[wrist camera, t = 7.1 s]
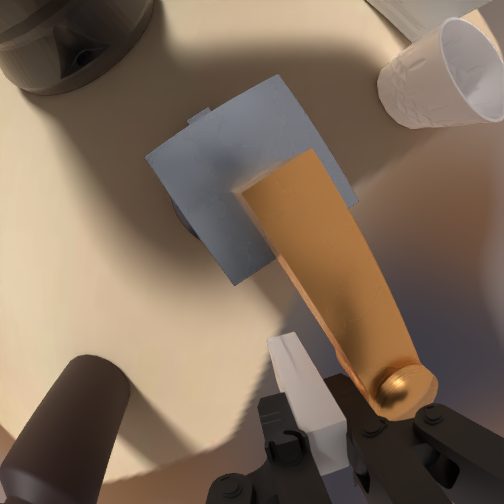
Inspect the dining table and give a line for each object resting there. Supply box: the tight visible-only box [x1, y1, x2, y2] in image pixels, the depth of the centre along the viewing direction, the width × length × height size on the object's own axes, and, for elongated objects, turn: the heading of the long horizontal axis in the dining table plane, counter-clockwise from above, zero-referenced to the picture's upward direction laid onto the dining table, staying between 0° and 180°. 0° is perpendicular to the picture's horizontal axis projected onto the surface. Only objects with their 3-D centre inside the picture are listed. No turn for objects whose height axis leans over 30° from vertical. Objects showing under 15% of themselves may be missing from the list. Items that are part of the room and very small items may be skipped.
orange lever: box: [145, 74, 438, 421], centre depth 14 cm, size 7×17×13 cm, turn 33°
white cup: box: [377, 17, 504, 129], centre depth 18 cm, size 8×8×10 cm
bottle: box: [0, 355, 130, 504], centre depth 15 cm, size 7×7×20 cm
